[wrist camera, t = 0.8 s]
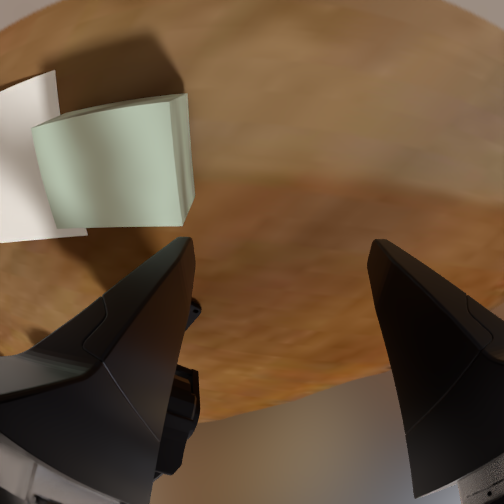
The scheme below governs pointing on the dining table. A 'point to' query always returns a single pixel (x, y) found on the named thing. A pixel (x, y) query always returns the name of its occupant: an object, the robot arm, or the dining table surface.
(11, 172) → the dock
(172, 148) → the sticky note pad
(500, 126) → the dining table surface
